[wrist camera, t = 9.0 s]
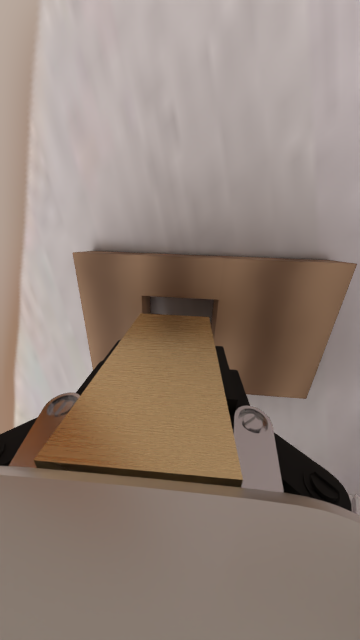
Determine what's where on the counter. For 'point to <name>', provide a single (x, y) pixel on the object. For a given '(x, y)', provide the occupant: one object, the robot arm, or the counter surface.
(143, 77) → the counter surface
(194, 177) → the counter surface
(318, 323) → the walnut square hole board
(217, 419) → the brass peg
